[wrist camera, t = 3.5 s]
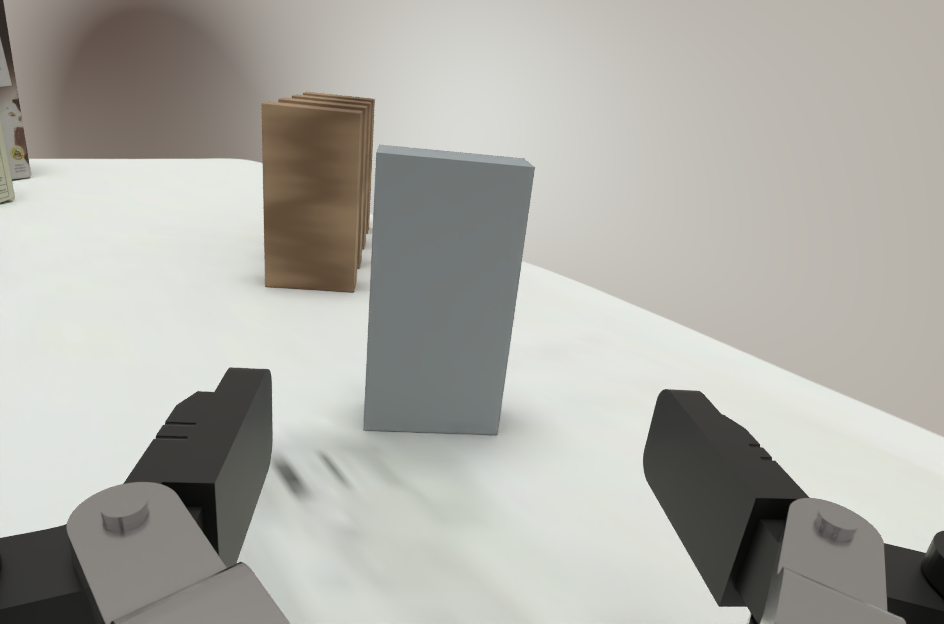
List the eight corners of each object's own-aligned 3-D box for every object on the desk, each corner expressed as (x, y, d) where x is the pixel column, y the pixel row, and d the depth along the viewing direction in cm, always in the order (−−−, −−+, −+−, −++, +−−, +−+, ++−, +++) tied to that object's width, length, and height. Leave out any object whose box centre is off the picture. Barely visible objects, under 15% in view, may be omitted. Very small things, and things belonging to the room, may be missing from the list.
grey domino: (363, 430, 22) (376, 152, 19) (366, 402, 24) (379, 144, 21) (497, 434, 23) (534, 167, 19) (490, 407, 25) (523, 158, 21)
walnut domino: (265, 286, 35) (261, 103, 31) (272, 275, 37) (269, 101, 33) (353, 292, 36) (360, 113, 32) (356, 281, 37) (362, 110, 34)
